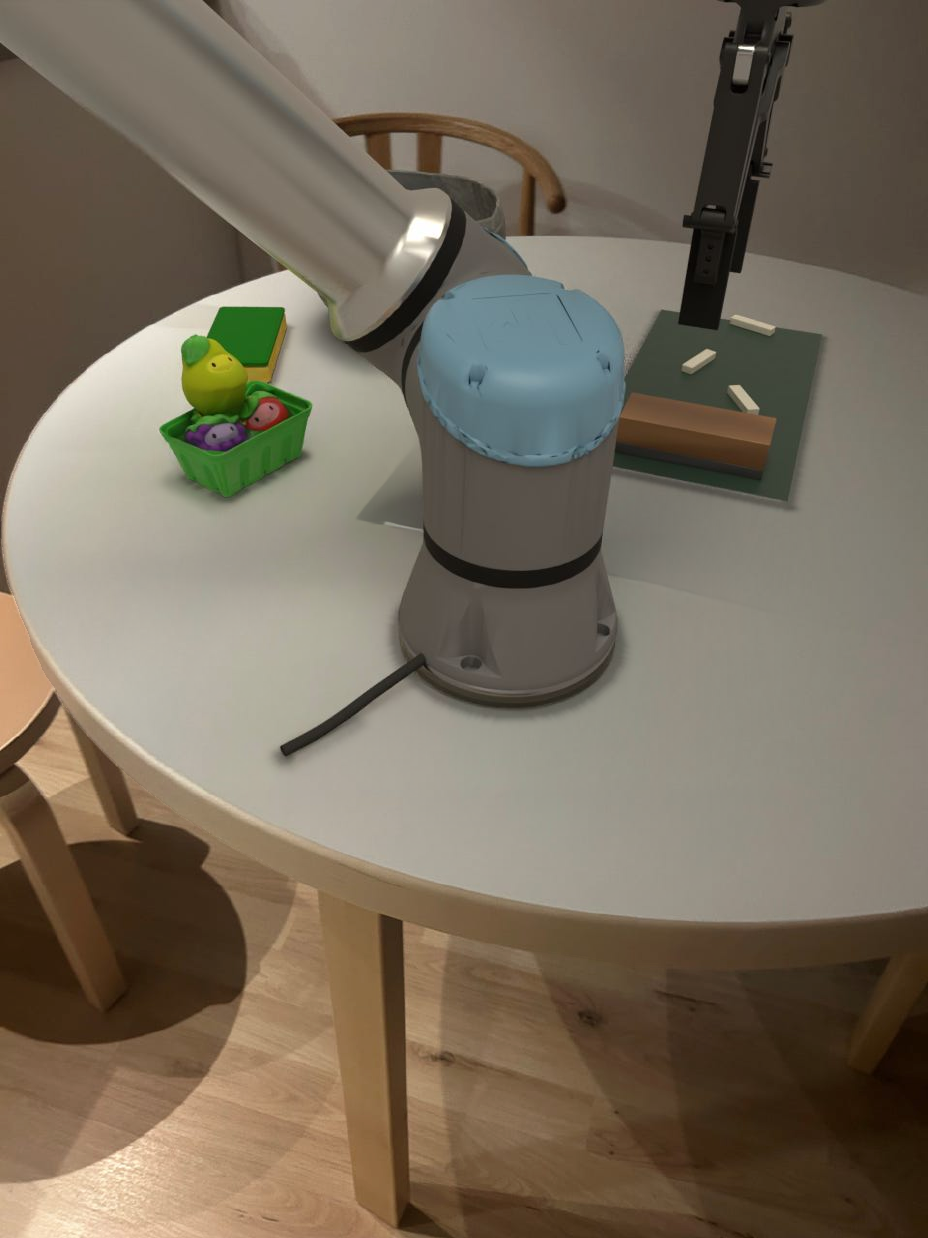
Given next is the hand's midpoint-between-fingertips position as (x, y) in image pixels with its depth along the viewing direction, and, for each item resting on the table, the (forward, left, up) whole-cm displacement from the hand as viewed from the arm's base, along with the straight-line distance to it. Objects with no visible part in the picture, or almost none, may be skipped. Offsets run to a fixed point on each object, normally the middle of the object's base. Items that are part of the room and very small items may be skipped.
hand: (711, 295), depth 69 cm
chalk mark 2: (+16, +21, -17) cm, 31 cm away
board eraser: (+5, +6, -17) cm, 19 cm away
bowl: (-10, +40, -18) cm, 45 cm away
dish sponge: (-28, +41, -18) cm, 52 cm away
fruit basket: (-33, +19, -18) cm, 42 cm away
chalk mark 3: (+26, +27, -17) cm, 41 cm away
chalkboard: (+14, +16, -18) cm, 28 cm away
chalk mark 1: (+15, +12, -17) cm, 26 cm away
